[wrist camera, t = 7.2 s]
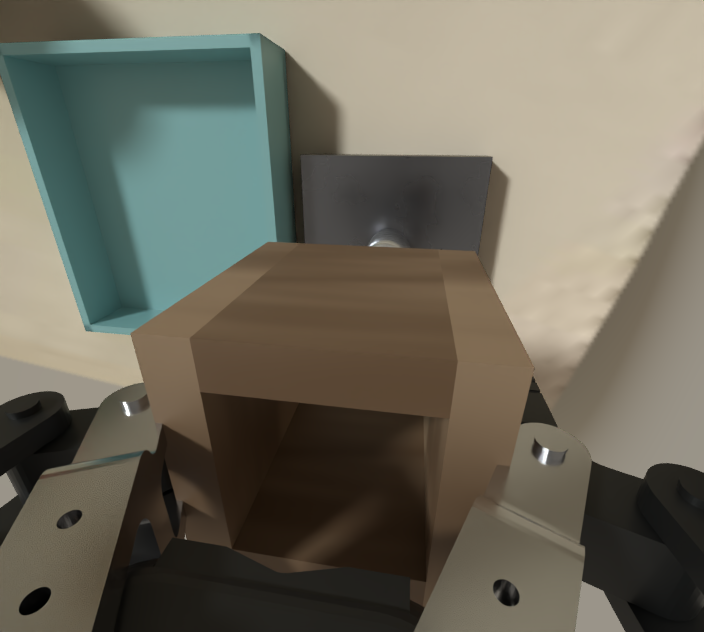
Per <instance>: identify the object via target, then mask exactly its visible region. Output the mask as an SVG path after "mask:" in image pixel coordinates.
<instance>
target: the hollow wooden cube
mask: <svg viewBox="0 0 704 632" xmlns="http://www.w3.org/2000/svg"><path fill="white" fill-rule="evenodd" d="M130 334H131V337H132V341H133V345H134V348H135V352H136V356H137V359H138V363H139V367H140V370H141V374H142V377H143V381H144V385H145V388H146V392H147V396H148V399H149V403H150V407H151V410H152V414H153V418H154V421H155V423H160V424H163V428H164V432H165V436H166V440H167V448H166V453H165V461H166V465H167V468H168V472H169V476H170V479H171V483H172V487H173V490H174V494H175V498H176V500H179V501H183V504H184V508H185V512H186V515H187V520H186V529H185V534H186V538H187V540H191V541H197V542H203V543H209V544H215V545H221V546H227V547H229V548H231V549H233V550H234V551H236V552H238V553H240V554H242V555H244V556H246V557H248V558H250V559H252V560H254V561H256V562H258V563H260V564H262V565H264V566H266V567H268V568H270V569H272V570H274V571H276V572H279V573H293V572H302V571H312V570H322V569H332V568H342V567H351V568H357V569H363V570H369V571H375V572H381V573H387V574H393V575H399V576H405V577H410V600H411V601H413V602H415V603H417V604H419V605H421V606H423V607H425V606H426V604H427V602H428V600H429V598H430V596H431V594H432V591H433V589H434V587H435V585H436V583H437V581H438V578H439V576H440V574H441V572H442V570H443V568H444V565H445V563H446V561H447V559H448V557H449V555H450V552H451V550H452V548H453V546H454V544H455V542H456V540H457V537H458V535H459V533H460V531H461V529H462V527H463V524H464V522H465V520H466V518H467V516H468V514H469V511H470V509H471V507H472V505H473V503H474V501H475V499H476V498H477V496H478V495H479V494H480V495H482V496H483V495H484V493H485V491H486V488H487V486H488V484H489V482H490V479H491V477H492V475H493V473H494V470H495V468H496V466H497V465H504V466H511V462H512V458H513V453H514V449H515V445H516V441H517V437H518V433H519V429H520V425H521V421H522V417H523V413H524V409H525V405H526V401H527V397H528V393H529V388H530V384H531V380H532V376H533V372H534V366H533V364H532V362H531V360H530V358H529V356H528V354H527V352H526V350H525V348H524V346H523V344H522V342H521V340H520V338H519V336H518V335H517V333H516V331H515V329H514V327H513V325H512V323H511V321H510V319H509V317H508V315H507V313H506V311H505V309H504V307H503V305H502V303H501V301H500V299H499V297H498V295H497V293H496V291H495V289H494V287H493V286H492V284H491V282H490V280H489V278H488V276H487V274H486V272H485V270H484V268H483V266H482V264H481V262H480V260H479V258H478V256H477V254H476V252H475V251H462V250H439V249H417V248H395V247H373V246H351V245H328V244H306V243H284V242H267V243H265V244H264V245H262V246H261V247H259V248H258V249H256V250H255V251H253V252H252V253H250V254H249V255H247V256H246V257H244V258H243V259H241V260H240V261H238V262H237V263H235V264H234V265H232V266H231V267H229V268H228V269H226V270H225V271H223V272H222V273H220V274H219V275H217V276H216V277H214V278H213V279H211V280H210V281H208V282H207V283H205V284H204V285H202V286H201V287H199V288H198V289H196V290H195V291H193V292H192V293H190V294H189V295H187V296H186V297H184V298H183V299H181V300H180V301H178V302H177V303H175V304H174V305H172V306H171V307H169V308H168V309H166V310H164V311H163V312H161V313H160V314H158V315H157V316H155V317H154V318H152V319H151V320H149V321H148V322H146V323H145V324H143V325H142V326H140V327H139V328H137V329H136V330H134V331H133V332H131V333H130Z"/></svg>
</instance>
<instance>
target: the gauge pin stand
mask: <svg viewBox="0 0 704 632" xmlns="http://www.w3.org/2000/svg"><path fill="white" fill-rule="evenodd" d="M492 158H493V157H491V156H450V155H350V154H305V155H301V175H302V195H303V215H304V235H305V243H306V244H328V245H351V246H373V247H395V248H417V249H439V250H462V251H475V252H476V254H477V256H478V252H479V245H480V238H481V232H482V225H483V218H484V212H485V205H486V198H487V192H488V185H489V178H490V172H491V165H492Z"/></svg>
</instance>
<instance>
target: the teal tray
mask: <svg viewBox="0 0 704 632" xmlns="http://www.w3.org/2000/svg"><path fill="white" fill-rule="evenodd" d="M0 75H1V78H2V81H3V84H4V87H5V90H6V93H7V96H8V99H9V102H10V105H11V108H12V111H13V114H14V117H15V120H16V123H17V126H18V129H19V132H20V135H21V138H22V141H23V144H24V147H25V150H26V153H27V156H28V159H29V162H30V165H31V168H32V171H33V174H34V177H35V180H36V183H37V186H38V189H39V192H40V195H41V198H42V201H43V204H44V207H45V210H46V213H47V216H48V219H49V222H50V225H51V228H52V231H53V234H54V237H55V240H56V243H57V246H58V249H59V252H60V255H61V258H62V261H63V264H64V267H65V270H66V273H67V276H68V279H69V282H70V285H71V288H72V291H73V294H74V297H75V300H76V303H77V306H78V309H79V312H80V315H81V318H82V321H83V324H84V327H85V330H86V331H91V332H103V333H114V334H126V335H131V334H130V333H131V332H133V331H134V330H136V329H137V328H139V327H140V326H142V325H143V324H145V323H146V322H148V321H149V320H151V319H152V318H154V317H155V316H157V315H158V314H160V313H161V312H163V311H164V310H166V309H168V308H169V307H171V306H172V305H174V304H175V303H177V302H178V301H180V300H181V299H183V298H184V297H186V296H187V295H189V294H190V293H192V292H193V291H195V290H196V289H198V288H199V287H201V286H202V285H204V284H205V283H207V282H208V281H210V280H211V279H213V278H214V277H216V276H217V275H219V274H220V273H222V272H223V271H225V270H226V269H228V268H229V267H231V266H232V265H234V264H235V263H237V262H238V261H240V260H241V259H243V258H244V257H246V256H247V255H249V254H250V253H252V252H253V251H255V250H256V249H258V248H259V247H261V246H262V245H264V244H265V243H267V242H284V243H296V227H295V211H294V194H293V177H292V160H291V143H290V126H289V110H288V93H287V76H286V59H285V50H284V49H282V48H281V47H279V46H278V45H276V44H275V43H273V42H272V41H271V40H269V39H268V38H266V37H265V36H263V35H262V34H260V33H253V34H227V35H201V36H174V37H148V38H121V39H95V40H69V41H42V42H16V43H0Z"/></svg>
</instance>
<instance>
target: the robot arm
mask: <svg viewBox="0 0 704 632" xmlns="http://www.w3.org/2000/svg"><path fill="white" fill-rule="evenodd" d="M166 448H167V440H166V436H165V432H164V428H163V424H160V423H155V421H154V418H153V414H152V410H151V407H150V403H149V399H148V396H147V392H146V388H145V385H144V383H138V384H134V385H130V386H127V387H124V388H122V389H120V390H118V391H116V392H114V393H112V394H111V395H109V396H108V397H107V398H106V399H105V400H104V401H103V402H102V403H101V405H100V407H98V408H89V409H80V410H70V411H69V409H68V406H67V404H66V401H65V398H64V397H63V395H62V394H60V393H57V392H51V391H48V392H47V391H46V392H37V393H32V394H28V395H25V396H21V397H18V398H16V399H13V400H11V401H8V402H6V403H5V404H3V405H0V476H1V475H3V474H4V473H7V475H8V477H9V479H10V481H11V483H12V484H13V487H14V488H15V490H16V492H17V494H18V495H17V496H16V497H14V498H13V499H12V500H11V501H9V502H8V503H7V504H5V505H4V506H3V507H1V508H0V632H575V627H576V619H577V612H578V605H579V597H580V590H581V582H582V581H583V582H586V583H588V584H590V585H592V586H594V587H597V588H599V589H601V590H603V591H604V593H605V595H606V596H607V598H608V600H609V602H610V604H611V606H612V608H613V610H614V611H615V613H616V615H617V617H618V619H619V621H620V623H621V624H622V626H623V628H624V630H625V631H626V632H704V473H702V472H700V471H698V470H695V469H692V468H689V467H686V466H682V465H677V464H669V463H663V464H657V465H654V466H652V467H650V468H649V469H648V471H647V473H646V476H645V477H644V479H641V478H638V477H635V476H632V475H628V474H625V473H622V472H619V471H616V470H613V469H610V468H607V467H605V466H602V465H599V464H597V463H595V462H593V461H592V460H591V456H590V453H589V451H588V450H587V448H586V447H585V446H584V445H583V444H582V443H581V442H580V441H579V440H578V439H577V438H575V437H574V436H573V435H571V434H569V433H567V432H566V431H564V430H562V429H559V428H558V427H557V425H556V422H555V421H554V418H553V416H552V414H551V412H550V410H549V408H548V406H547V404H546V402H545V400H544V398H543V396H542V394H541V393H540V390H539V387H538V385H537V383H535V379H534V377H533V376H532V380H531V384H530V388H529V393H528V397H527V401H526V405H525V409H524V413H523V417H522V421H521V425H520V429H519V433H518V437H517V441H516V445H515V449H514V453H513V458H512V462H511V466H504V465H497V466H496V468H495V470H494V473H493V475H492V477H491V479H490V482H489V484H488V486H487V488H486V491H485V493H484V495H483V496H482V495H480V494H479V495H478V496H477V498H476V499H475V501H474V503H473V505H472V507H471V509H470V511H469V514H468V516H467V518H466V520H465V522H464V524H463V527H462V529H461V531H460V533H459V535H458V537H457V540H456V542H455V544H454V546H453V548H452V550H451V552H450V555H449V557H448V559H447V561H446V563H445V565H444V568H443V570H442V572H441V574H440V576H439V578H438V581H437V583H436V585H435V587H434V589H433V591H432V594H431V596H430V598H429V600H428V602H427V604H426V606H425V607H423V606H421V605H419V604H417V603H415V602H413V601H411V600H410V577H405V576H399V575H393V574H387V573H381V572H375V571H369V570H363V569H357V568H351V567H342V568H332V569H322V570H312V571H302V572H293V573H279V572H276V571H274V570H272V569H270V568H268V567H266V566H264V565H262V564H260V563H258V562H256V561H254V560H252V559H250V558H248V557H246V556H244V555H242V554H240V553H238V552H236V551H234V550H233V549H231V548H229V547H227V546H221V545H215V544H209V543H203V542H197V541H191V540H185V539H184V537H185V529H186V520H187V515H186V512H185V508H184V504H183V501H179V500H176V498H175V494H174V490H173V487H172V483H171V479H170V476H169V472H168V468H167V465H166V461H165V453H166Z"/></svg>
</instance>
